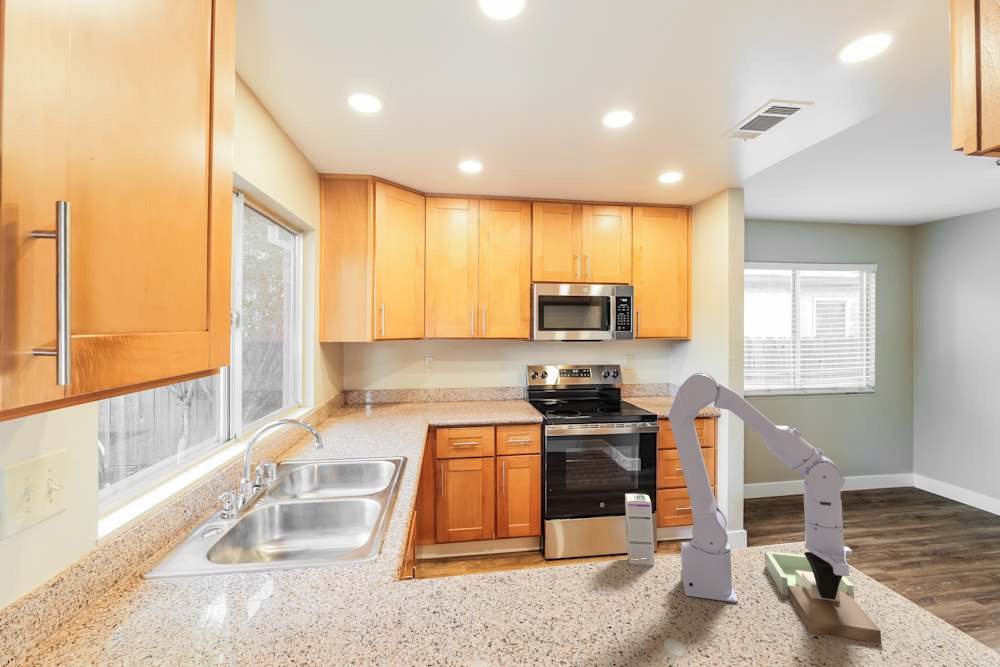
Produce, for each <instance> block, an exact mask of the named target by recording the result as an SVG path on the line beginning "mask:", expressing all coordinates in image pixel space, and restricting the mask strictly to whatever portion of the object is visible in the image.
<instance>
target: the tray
mask: <svg viewBox="0 0 1000 667" xmlns="http://www.w3.org/2000/svg"><path fill="white" fill-rule="evenodd" d="M764 558H765V568H766V567H767V568H766V569H768V570H767V571H768V573H769V572H770V573H769V575H770V574H771V575H770V577H771V578H772V579H773V581H774V583H775V585H776V586H777V588H778V590H779V592H780V593H781V595H782V596H783V595H784V596H788V585H791V586H798V585H797V584H796V578H795V570H800V571H808V572H813V571H812V568H811V566H810V564H809V562H808V560H807V558H806V556H805V554H795V553H785V552H779V551H777V552H776V551H769V550H767V551H764ZM839 592H847V593H848V594H849V595H850V596H851V597H852V598H853V599H854V600H855V594H854V593H855V591H854V585H853V584H852V583H851V582H850V580H849V579H848V578H847V576H843V577H842V579H841V581H840V583H839Z"/></svg>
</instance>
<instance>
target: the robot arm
mask: <svg viewBox="0 0 1000 667" xmlns="http://www.w3.org/2000/svg"><path fill="white" fill-rule="evenodd" d="M713 402H714V403H713ZM711 403H713V404H714V405H713V407H714V408H716V409H722V410H728V411H730V412H732V413H733V414H734V415H735V416H737V417H738V418H739V419H740V420H742V421H743V422H744V423H745V424H747V425H748V426H750V427H751V428H752V429H753V430H755V432H757V433H758V434H759V435H761V436H762V437H763V438H764V446H765V448H766V449H767V450H768V451H769V452H771V453H772V454H774V455H775V456H776V457H777V458H778V459H779V460H780V461H782V462H783V463H785V464H786V465H787V466H788V467H789V468H791V469H792V470H793V471H795V472H798V473H800V475H801V477H802V478H803V479H804V480H803V482H804V484H803V486H804V493H803V508H804V510H803V511H804V529H805V530H804V548H805V549H806V550H807V551H806V552H804V554H803V555H805V556H806V558H807V560H808V562H809V564H810V566H811V568H812V571H813V574H814V577H815V581H816V585H817V588H818V592H819V594H820V596H821V597H822V598H825V599H832V600H835V598H836V595H837V591H838V587H839V583H840V581H841V579H842V577H843V576H845V577H850V566H849V564H848V563H847V555H849V556H850V555H853V550H852V549H851V548H850V547H848V546H845V542H844V540H845V538H844V527H843V525H844V523H843V504H842V502H843V501H842V499H841V494H842V492H841V489H842V488H843V487H844V485H845V481H846V478H845V477H843V473H842V470H841V469H840V468H839V466H837V465H836V463H835V462H833V461H832V460H831V459H830V458H829V456H828V455H825V451H823V450H822V449H821V448H819V447H817V448H816V447H814V446H813V445H812V444H811V443H809V442H808V441H807V440H805V439H804V438H803V437H801V435H802V432H800V431H799V430H798V429H797V428H796V427H794V428H790V427H789V426H787V425H775V423H773V422H772V421H770V419H768V418H767V417H766V416H765V415H764V414H763V413H762V412H760V411H759V410H758V409H757V408H755V406H753V405H752V404H751V403H750V402H748V401H747V400H746V399H744V398H743V396H741V395H740V394H739V393H738V392H737V391H735V390H734V389H732V388H730V387H729V386H727V385H726V384H724V383H723V382H720V381H719V380H718V381H717V382H716V380H715V378H714V377H713V376H711V375H710V374H708V373H706V372H697V373H693V374H691V375H690V376H689V377H688V378H687V379H686V380H685V381H684V382H683V383H682V384H681V385H680V386H679V388H678V390H677V392H676V395H675V397H674V399H673V402H672V405H671V406H670V407H671V408H670V409H669V412H668V420H669V424H670V428H671V432H672V435H673V436H672V437H673V439H674V443H675V447H676V450H677V455H678V459H679V463H680V466H681V471H682V474H683V478H684V481H685V486H686V488H687V492H688V497H689V501H690V508H691V516H692V519H693V526H692V531H691V533H692V537H691V541H686V542H685V541H684V542H680V558H681V559H680V562H681V563H680V564H681V569H680V579H681V581H682V585H683V586H682V587H683V591H684V595H685V596H687V597H692V598H694V597H695V598H700V599H707V600H714V601H715V600H716V601H720V602H721V601H722V602H727V603H728V602H731V603H738V601H739V599H738V597H737V594H736V592H735V590H734V586H733V581H732V580H733V576H732V559H731V558H732V556H731V555H732V553H731V544H730V543H729V542H728V541H729V539H728V533H727V527H728V526H727V525H728V522H727V518H726V515H725V514H724V513H723V511H722V510H721V509H720V508H719V506H718V502H717V500H716V497H715V495H714V491H713V488H712V484H711V480H710V476H709V474H708V470H707V466H706V463H705V458H704V455H703V451H702V448H701V444H700V441H699V440H700V439H699V435H698V433H697V428H696V425H695V419H696V417H698V415H699V414H700V412H701V410H703V409H704V408H706V407H708V406H709V405H710V404H711Z"/></svg>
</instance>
